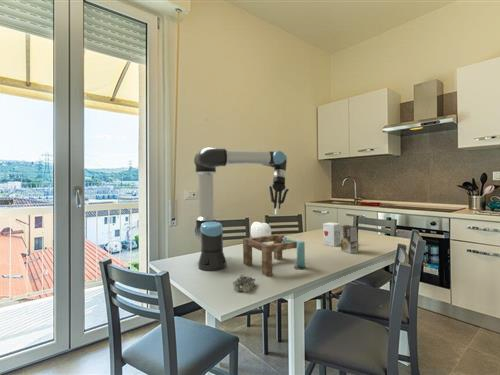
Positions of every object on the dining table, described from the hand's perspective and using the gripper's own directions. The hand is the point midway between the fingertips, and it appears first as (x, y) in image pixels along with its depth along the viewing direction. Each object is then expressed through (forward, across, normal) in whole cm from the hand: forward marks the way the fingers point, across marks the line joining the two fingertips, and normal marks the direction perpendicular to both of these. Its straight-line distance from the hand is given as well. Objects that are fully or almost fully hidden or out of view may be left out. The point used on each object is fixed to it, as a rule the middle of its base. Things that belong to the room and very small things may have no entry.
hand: (276, 213), depth 169 cm
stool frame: (+31, +2, +14) cm, 34 cm away
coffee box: (+17, -50, -2) cm, 53 cm away
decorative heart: (+19, +1, -29) cm, 35 cm away
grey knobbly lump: (+42, +22, +38) cm, 61 cm away
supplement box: (+12, -48, -22) cm, 54 cm away
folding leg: (+28, -8, +15) cm, 33 cm away
